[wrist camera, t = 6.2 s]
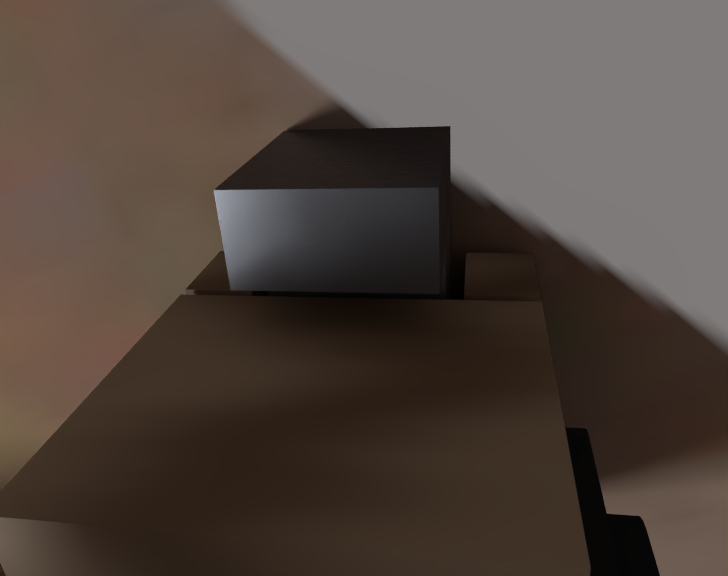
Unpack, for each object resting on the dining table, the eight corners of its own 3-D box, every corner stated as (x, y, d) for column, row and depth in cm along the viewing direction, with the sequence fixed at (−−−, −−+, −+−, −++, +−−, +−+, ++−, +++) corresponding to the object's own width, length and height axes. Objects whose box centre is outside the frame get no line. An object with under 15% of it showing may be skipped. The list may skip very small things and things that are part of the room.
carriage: (533, 253, 12) (591, 568, 6) (517, 517, 14) (544, 918, 8) (220, 251, 13) (-22, 515, 7) (263, 498, 16) (122, 842, 9)
